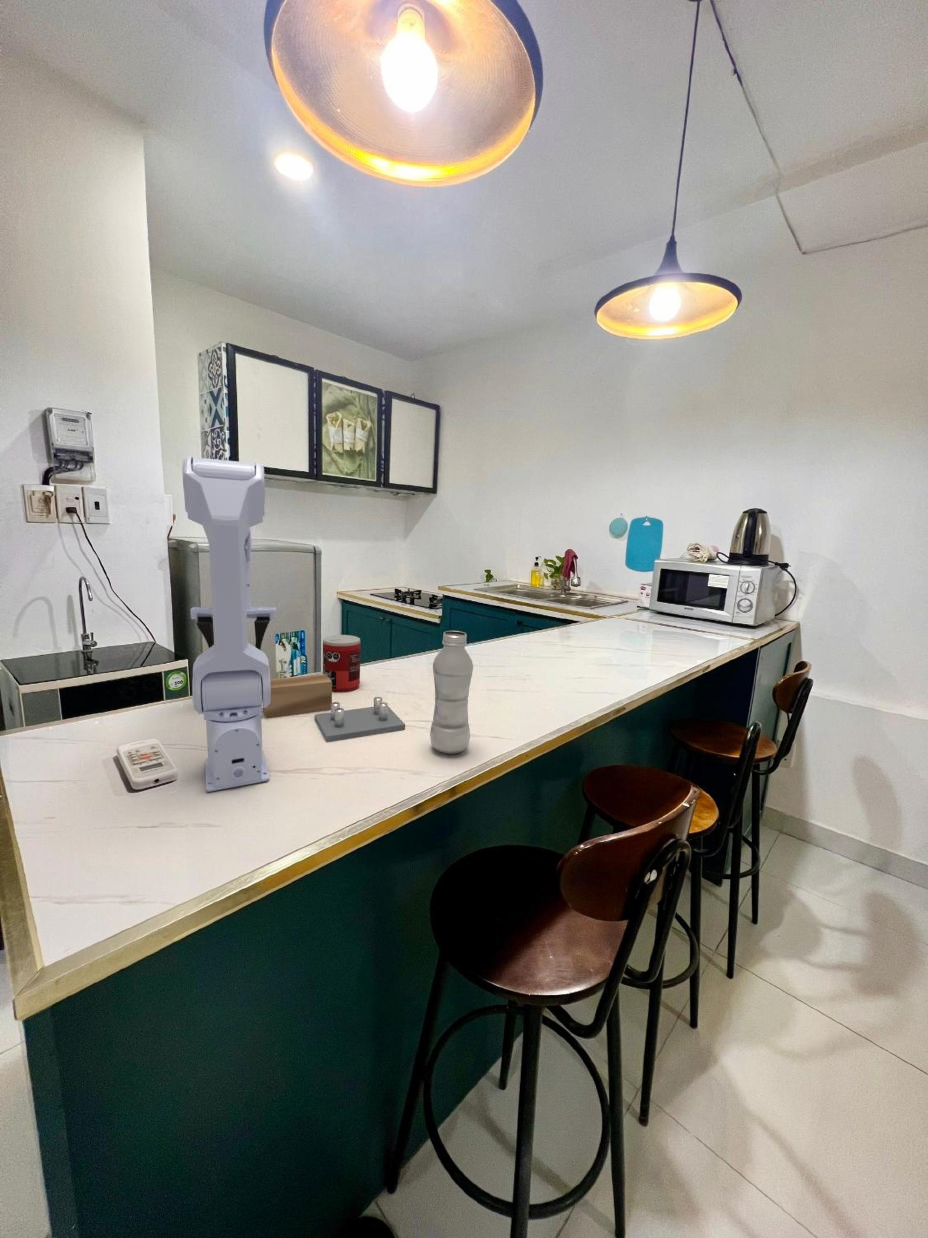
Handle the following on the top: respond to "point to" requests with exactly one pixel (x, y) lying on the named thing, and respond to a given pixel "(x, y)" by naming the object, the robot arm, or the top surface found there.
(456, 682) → the plastic bottle
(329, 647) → the canned food
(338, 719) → the peg stand
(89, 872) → the top surface
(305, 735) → the top surface
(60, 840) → the top surface
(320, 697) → the shelf block
